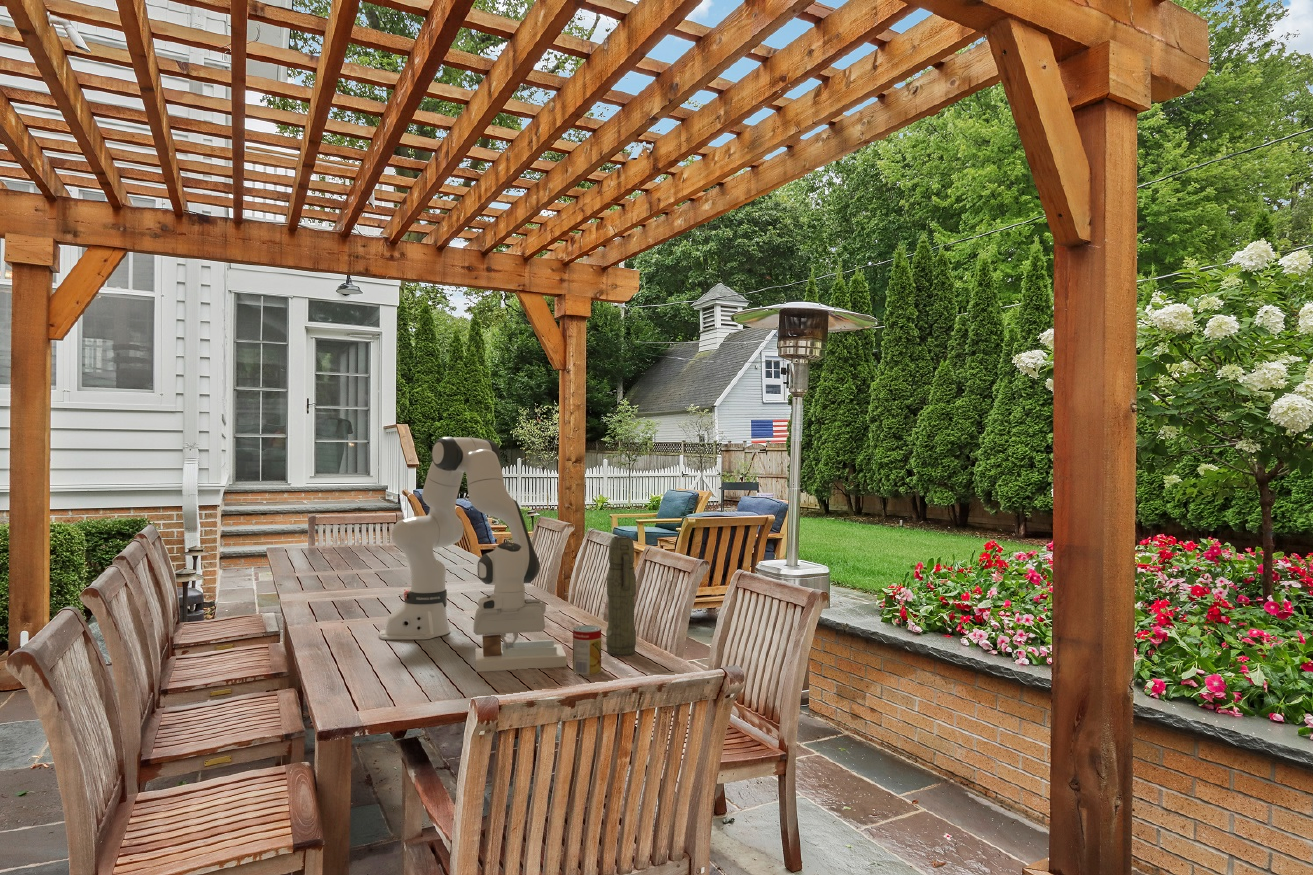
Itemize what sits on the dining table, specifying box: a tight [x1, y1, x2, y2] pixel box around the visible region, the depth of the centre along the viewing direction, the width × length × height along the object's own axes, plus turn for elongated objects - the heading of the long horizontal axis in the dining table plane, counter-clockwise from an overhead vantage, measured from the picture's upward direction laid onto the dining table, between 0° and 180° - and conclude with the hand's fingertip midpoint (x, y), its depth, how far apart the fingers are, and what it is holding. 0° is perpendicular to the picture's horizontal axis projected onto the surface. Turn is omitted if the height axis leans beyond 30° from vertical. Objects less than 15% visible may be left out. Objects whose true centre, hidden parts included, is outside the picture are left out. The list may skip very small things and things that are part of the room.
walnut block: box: [481, 634, 502, 657], centre depth 232 cm, size 5×5×5 cm
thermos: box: [605, 535, 637, 657], centre depth 246 cm, size 9×12×35 cm
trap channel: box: [474, 639, 567, 673], centre depth 234 cm, size 25×14×5 cm, turn 103°
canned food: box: [572, 624, 602, 676], centre depth 226 cm, size 8×8×12 cm
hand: (509, 648), depth 234 cm, fingers closed
